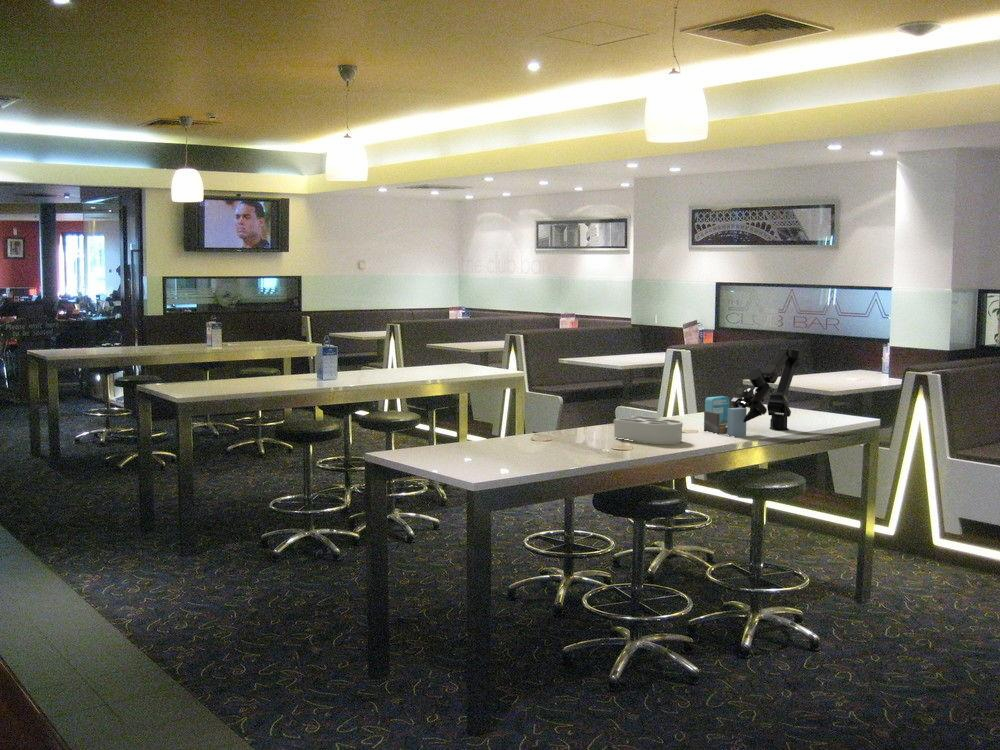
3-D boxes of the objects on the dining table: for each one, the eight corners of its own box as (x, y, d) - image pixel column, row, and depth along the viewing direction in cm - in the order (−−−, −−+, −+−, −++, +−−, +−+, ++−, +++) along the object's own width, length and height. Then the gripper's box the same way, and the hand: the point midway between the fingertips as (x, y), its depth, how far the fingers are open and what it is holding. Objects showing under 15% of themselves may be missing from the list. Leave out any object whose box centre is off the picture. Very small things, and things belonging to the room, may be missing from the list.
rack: (724, 429, 460) (724, 409, 459) (737, 432, 451) (738, 412, 450) (703, 430, 455) (704, 411, 454) (717, 434, 446) (717, 413, 445)
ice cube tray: (637, 435, 447) (637, 415, 446) (690, 442, 427) (690, 421, 426) (613, 439, 436) (613, 419, 435) (666, 447, 416) (666, 426, 415)
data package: (711, 423, 477) (712, 398, 476) (704, 422, 481) (704, 397, 479) (729, 421, 484) (729, 396, 483) (722, 420, 487) (722, 395, 486)
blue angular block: (740, 434, 444) (740, 407, 443) (746, 435, 441) (746, 408, 439) (727, 435, 441) (727, 408, 440) (732, 437, 438) (733, 409, 437)
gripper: (734, 379, 449) (713, 405, 446) (761, 383, 432) (740, 410, 429) (749, 396, 453) (728, 422, 450) (776, 400, 436) (754, 427, 433)
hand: (737, 420), depth 440 cm, fingers open, 9 cm apart
